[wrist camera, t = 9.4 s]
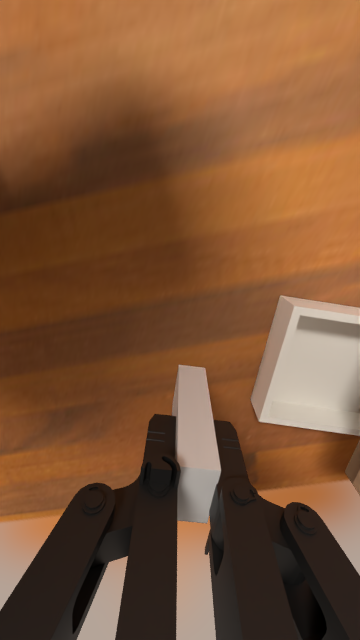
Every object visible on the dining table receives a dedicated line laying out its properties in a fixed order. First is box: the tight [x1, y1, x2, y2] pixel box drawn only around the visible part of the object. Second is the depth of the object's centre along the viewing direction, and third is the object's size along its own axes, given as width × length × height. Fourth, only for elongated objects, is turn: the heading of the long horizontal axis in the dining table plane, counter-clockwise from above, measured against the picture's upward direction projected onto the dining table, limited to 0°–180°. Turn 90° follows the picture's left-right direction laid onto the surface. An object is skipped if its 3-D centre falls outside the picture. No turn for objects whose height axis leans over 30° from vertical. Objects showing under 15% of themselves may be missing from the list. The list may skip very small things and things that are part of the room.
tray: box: [250, 295, 360, 436], centre depth 22 cm, size 12×10×3 cm
